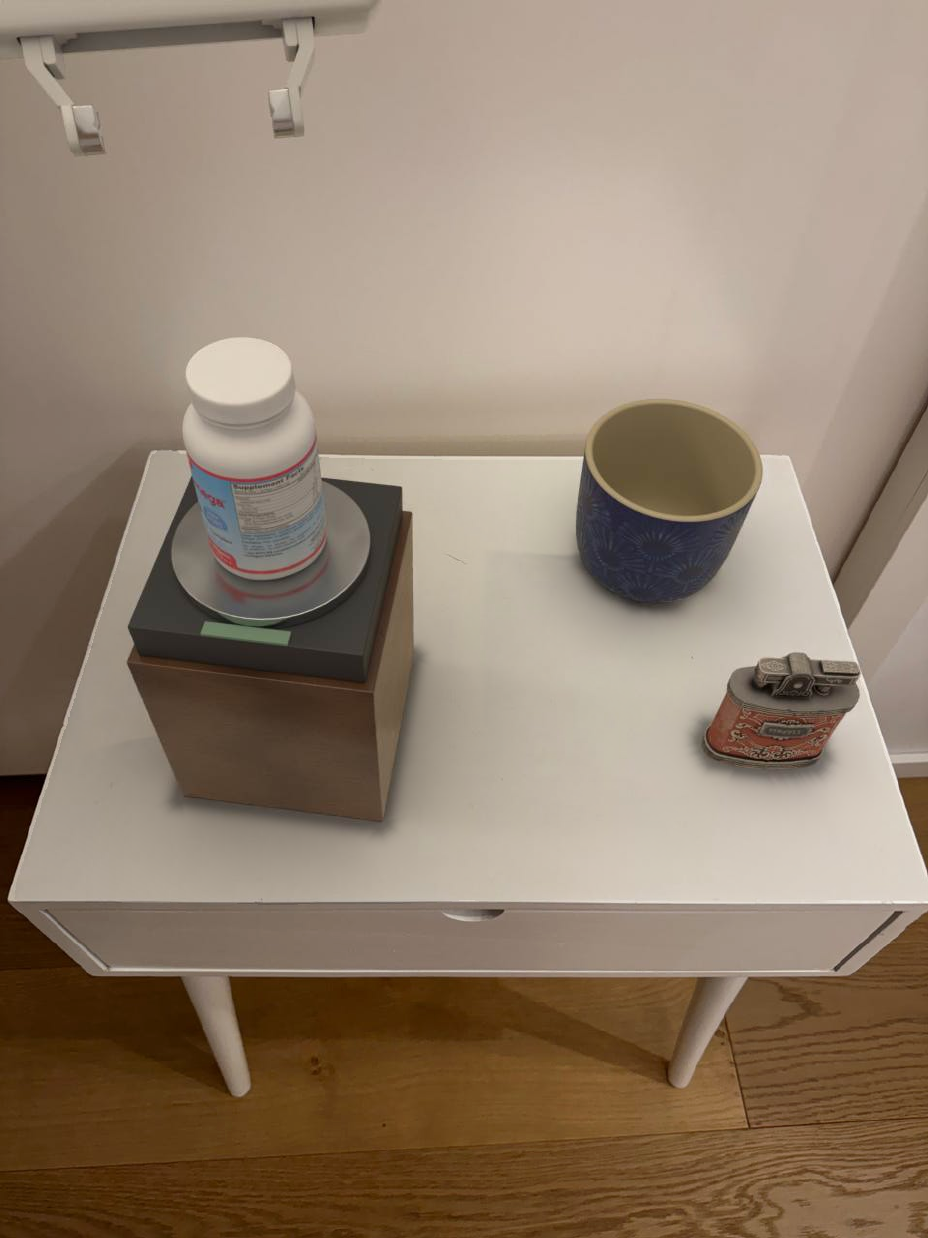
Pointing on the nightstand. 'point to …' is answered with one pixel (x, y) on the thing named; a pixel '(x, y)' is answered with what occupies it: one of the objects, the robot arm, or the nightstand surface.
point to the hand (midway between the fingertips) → (190, 143)
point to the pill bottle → (254, 459)
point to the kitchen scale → (275, 593)
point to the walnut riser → (289, 720)
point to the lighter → (781, 712)
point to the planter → (663, 497)
